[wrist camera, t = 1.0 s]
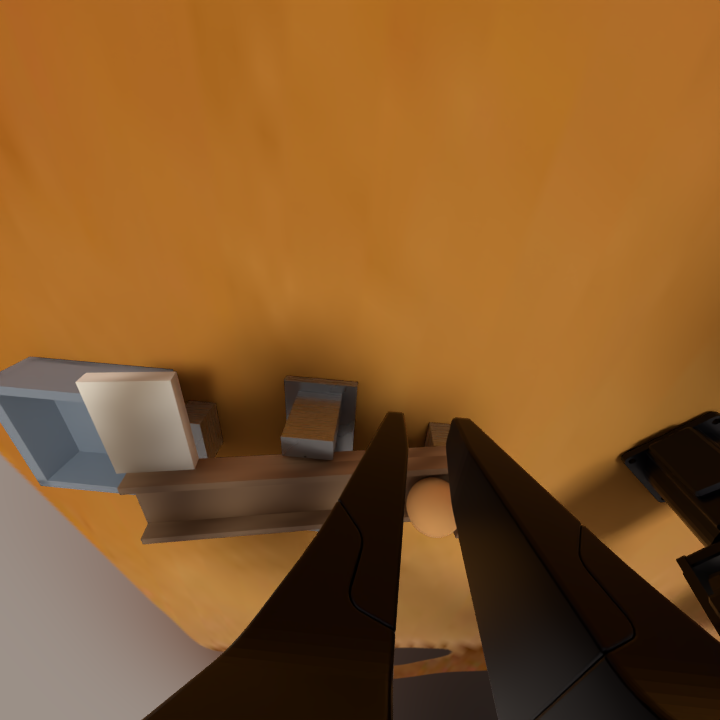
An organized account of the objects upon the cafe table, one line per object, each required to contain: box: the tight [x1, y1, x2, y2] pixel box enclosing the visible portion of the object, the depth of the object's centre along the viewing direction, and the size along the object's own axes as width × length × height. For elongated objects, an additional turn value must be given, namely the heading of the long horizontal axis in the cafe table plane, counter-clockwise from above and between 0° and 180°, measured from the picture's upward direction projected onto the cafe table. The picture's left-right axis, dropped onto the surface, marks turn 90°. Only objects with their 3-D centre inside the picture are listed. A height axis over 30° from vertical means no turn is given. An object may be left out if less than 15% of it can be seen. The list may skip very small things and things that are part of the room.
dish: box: [0, 357, 173, 495], centre depth 24 cm, size 10×9×4 cm
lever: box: [75, 372, 459, 544], centre depth 19 cm, size 20×11×4 cm, turn 86°
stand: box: [185, 376, 451, 531], centre depth 23 cm, size 20×10×5 cm, turn 86°
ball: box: [406, 477, 457, 538], centre depth 20 cm, size 3×3×3 cm
